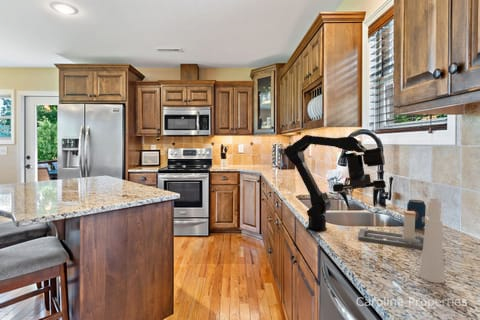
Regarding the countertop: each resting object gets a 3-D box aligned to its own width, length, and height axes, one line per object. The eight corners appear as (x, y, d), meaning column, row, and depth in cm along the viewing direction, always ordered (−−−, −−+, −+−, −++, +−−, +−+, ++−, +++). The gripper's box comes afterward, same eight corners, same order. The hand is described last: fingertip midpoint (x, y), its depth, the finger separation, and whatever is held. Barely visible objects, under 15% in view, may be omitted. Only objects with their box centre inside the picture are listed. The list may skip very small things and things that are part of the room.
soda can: (402, 226, 123) (403, 200, 123) (412, 224, 126) (413, 198, 126) (418, 230, 117) (419, 202, 116) (428, 228, 120) (429, 201, 119)
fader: (402, 239, 101) (403, 212, 101) (401, 236, 105) (402, 210, 104) (416, 241, 99) (417, 213, 99) (414, 238, 103) (416, 211, 102)
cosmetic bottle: (413, 275, 76) (416, 196, 75) (427, 271, 78) (430, 195, 77) (436, 285, 70) (440, 200, 69) (450, 280, 73) (454, 199, 72)
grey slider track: (358, 239, 104) (358, 232, 104) (360, 231, 115) (360, 224, 115) (434, 251, 94) (434, 242, 93) (428, 240, 104) (428, 232, 104)
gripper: (329, 171, 103) (335, 212, 103) (384, 165, 96) (391, 209, 96) (331, 170, 114) (336, 207, 113) (381, 165, 107) (387, 204, 106)
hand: (361, 207), depth 107 cm, fingers open, 9 cm apart
